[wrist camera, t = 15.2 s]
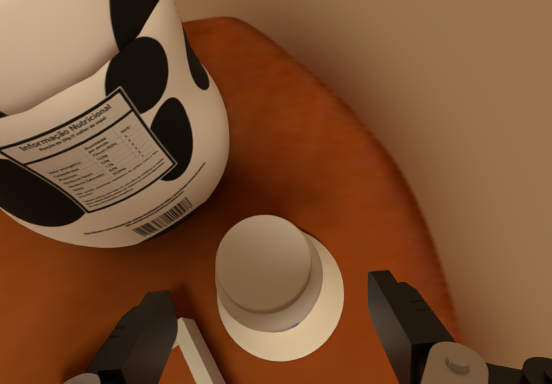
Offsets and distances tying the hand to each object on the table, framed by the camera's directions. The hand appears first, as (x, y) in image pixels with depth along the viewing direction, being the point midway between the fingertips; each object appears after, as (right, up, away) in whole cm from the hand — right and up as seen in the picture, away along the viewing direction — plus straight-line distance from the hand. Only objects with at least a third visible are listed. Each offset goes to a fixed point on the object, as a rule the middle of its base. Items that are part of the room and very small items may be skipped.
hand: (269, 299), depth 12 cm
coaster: (+1, -3, +9) cm, 10 cm away
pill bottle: (0, -3, +9) cm, 9 cm away
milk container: (-12, +7, +15) cm, 21 cm away
